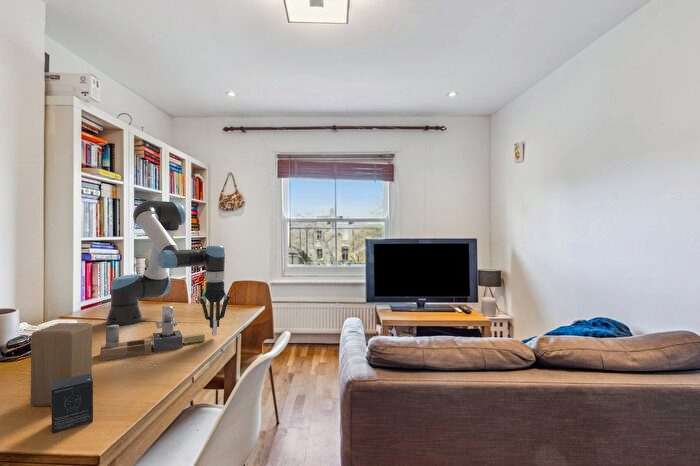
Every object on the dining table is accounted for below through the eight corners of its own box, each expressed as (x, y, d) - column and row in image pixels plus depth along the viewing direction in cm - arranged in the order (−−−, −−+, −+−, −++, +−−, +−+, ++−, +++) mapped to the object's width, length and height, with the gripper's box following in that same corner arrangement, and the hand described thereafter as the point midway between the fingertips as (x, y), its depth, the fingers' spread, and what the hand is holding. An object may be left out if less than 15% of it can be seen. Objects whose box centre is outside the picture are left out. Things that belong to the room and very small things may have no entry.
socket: (152, 344, 143) (152, 333, 143) (179, 340, 148) (179, 330, 148) (154, 351, 134) (154, 340, 134) (182, 347, 140) (182, 336, 140)
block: (57, 390, 101) (57, 322, 101) (93, 389, 102) (93, 322, 102) (28, 407, 91) (29, 332, 91) (68, 406, 92) (69, 332, 92)
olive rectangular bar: (183, 341, 146) (183, 335, 146) (203, 338, 150) (203, 333, 150) (184, 343, 143) (184, 337, 143) (204, 340, 148) (204, 334, 148)
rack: (101, 353, 131) (101, 324, 131) (150, 346, 140) (150, 319, 139) (100, 360, 124) (100, 330, 124) (151, 353, 133) (151, 324, 133)
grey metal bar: (161, 345, 142) (161, 306, 142) (172, 343, 144) (172, 305, 144) (162, 348, 138) (162, 308, 138) (173, 346, 141) (173, 307, 140)
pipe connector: (167, 338, 150) (168, 315, 150) (148, 337, 152) (148, 314, 152) (183, 332, 160) (183, 310, 160) (164, 330, 162) (164, 309, 162)
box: (91, 413, 89) (92, 372, 89) (93, 422, 85) (93, 379, 85) (51, 423, 84) (52, 380, 84) (51, 434, 80) (51, 388, 80)
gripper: (200, 283, 144) (199, 339, 144) (232, 281, 151) (231, 334, 151) (197, 280, 150) (196, 334, 151) (228, 278, 158) (227, 330, 158)
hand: (214, 334), depth 151 cm, fingers closed
